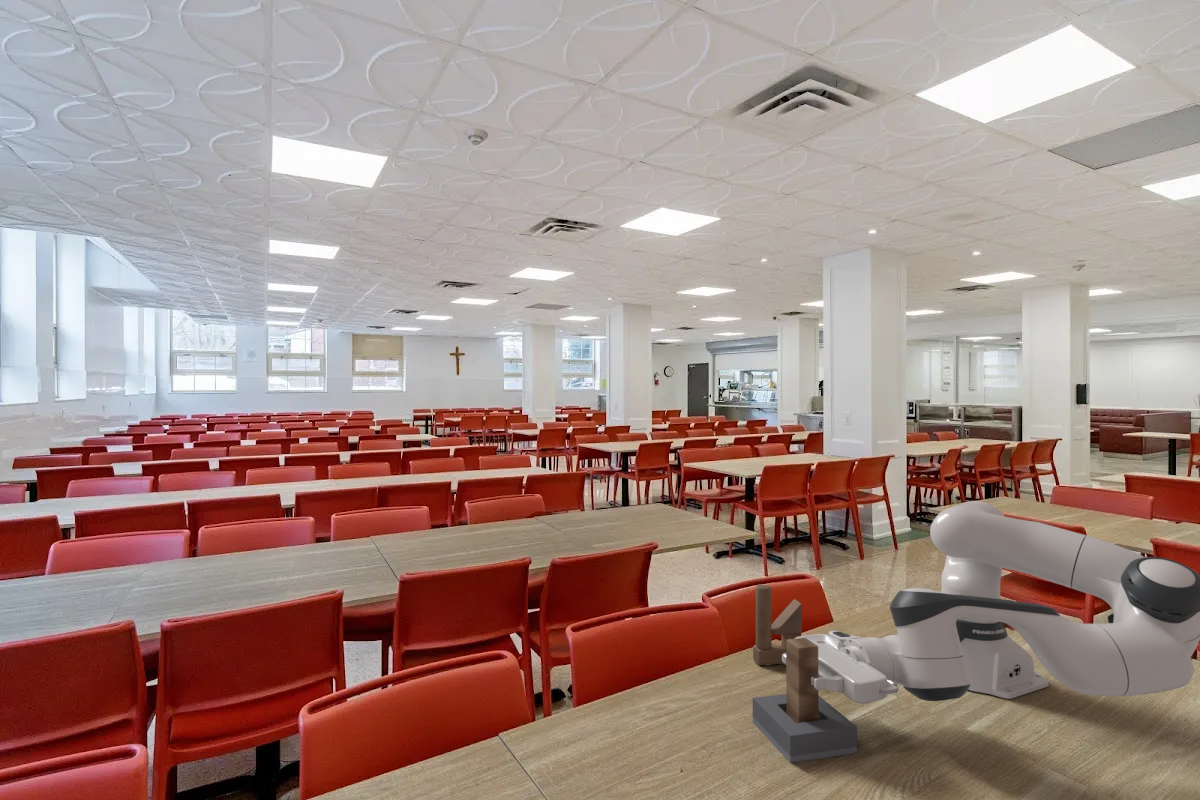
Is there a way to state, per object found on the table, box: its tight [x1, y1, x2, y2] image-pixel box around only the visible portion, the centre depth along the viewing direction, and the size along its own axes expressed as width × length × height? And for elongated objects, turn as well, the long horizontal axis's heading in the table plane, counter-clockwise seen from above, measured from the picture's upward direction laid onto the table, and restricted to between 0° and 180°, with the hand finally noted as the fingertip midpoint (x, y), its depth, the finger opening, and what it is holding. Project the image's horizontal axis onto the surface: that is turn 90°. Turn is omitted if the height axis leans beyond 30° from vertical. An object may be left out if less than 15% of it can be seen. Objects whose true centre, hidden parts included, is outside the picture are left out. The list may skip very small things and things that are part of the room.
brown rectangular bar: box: [785, 638, 819, 723], centre depth 103 cm, size 4×4×16 cm
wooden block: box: [752, 584, 803, 666], centre depth 134 cm, size 4×11×18 cm, turn 99°
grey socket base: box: [752, 693, 858, 764], centre depth 103 cm, size 13×13×4 cm
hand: (797, 670), depth 103 cm, fingers open, 8 cm apart
